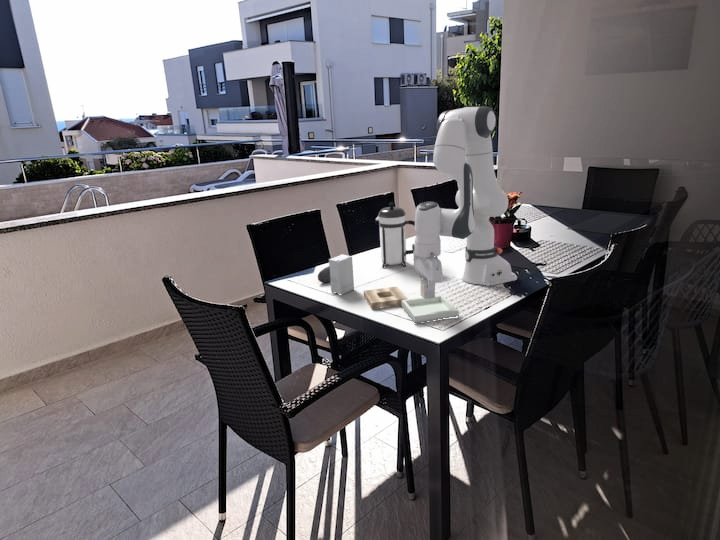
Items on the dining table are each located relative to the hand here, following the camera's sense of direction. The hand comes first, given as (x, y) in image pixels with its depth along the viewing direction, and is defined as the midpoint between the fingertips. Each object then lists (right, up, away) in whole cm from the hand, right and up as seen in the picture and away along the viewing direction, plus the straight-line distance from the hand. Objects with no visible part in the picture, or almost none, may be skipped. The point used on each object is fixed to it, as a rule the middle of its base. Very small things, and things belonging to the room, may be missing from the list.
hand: (427, 287), depth 174 cm
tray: (+1, -9, +3) cm, 10 cm away
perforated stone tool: (-36, +1, +44) cm, 57 cm away
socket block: (-14, -6, +17) cm, 23 cm away
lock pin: (0, -3, +1) cm, 4 cm away
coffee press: (-7, +9, +61) cm, 62 cm away
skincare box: (-31, -3, +30) cm, 43 cm away
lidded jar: (+5, +4, +44) cm, 44 cm away
